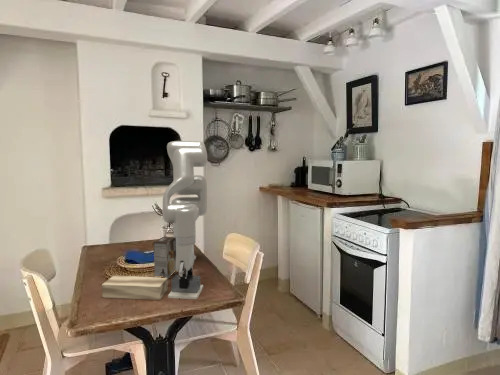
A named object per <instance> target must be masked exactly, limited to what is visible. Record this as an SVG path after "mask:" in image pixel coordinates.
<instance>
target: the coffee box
mask: <svg viewBox="0 0 500 375" xmlns="http://www.w3.org/2000/svg"><path fill="white" fill-rule="evenodd" d="M153 253H154V254H153V257H154V258H153V261H154V277H155V276H163V277H165V278H167V280H169V279H170V278H171V277H172V276H171V274H172V273H173V272H174V271H175V270H176V238H175V237H171V236H163V237H160V238H158V239H157V240H155V241H153ZM170 276H171V277H170Z"/></svg>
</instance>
